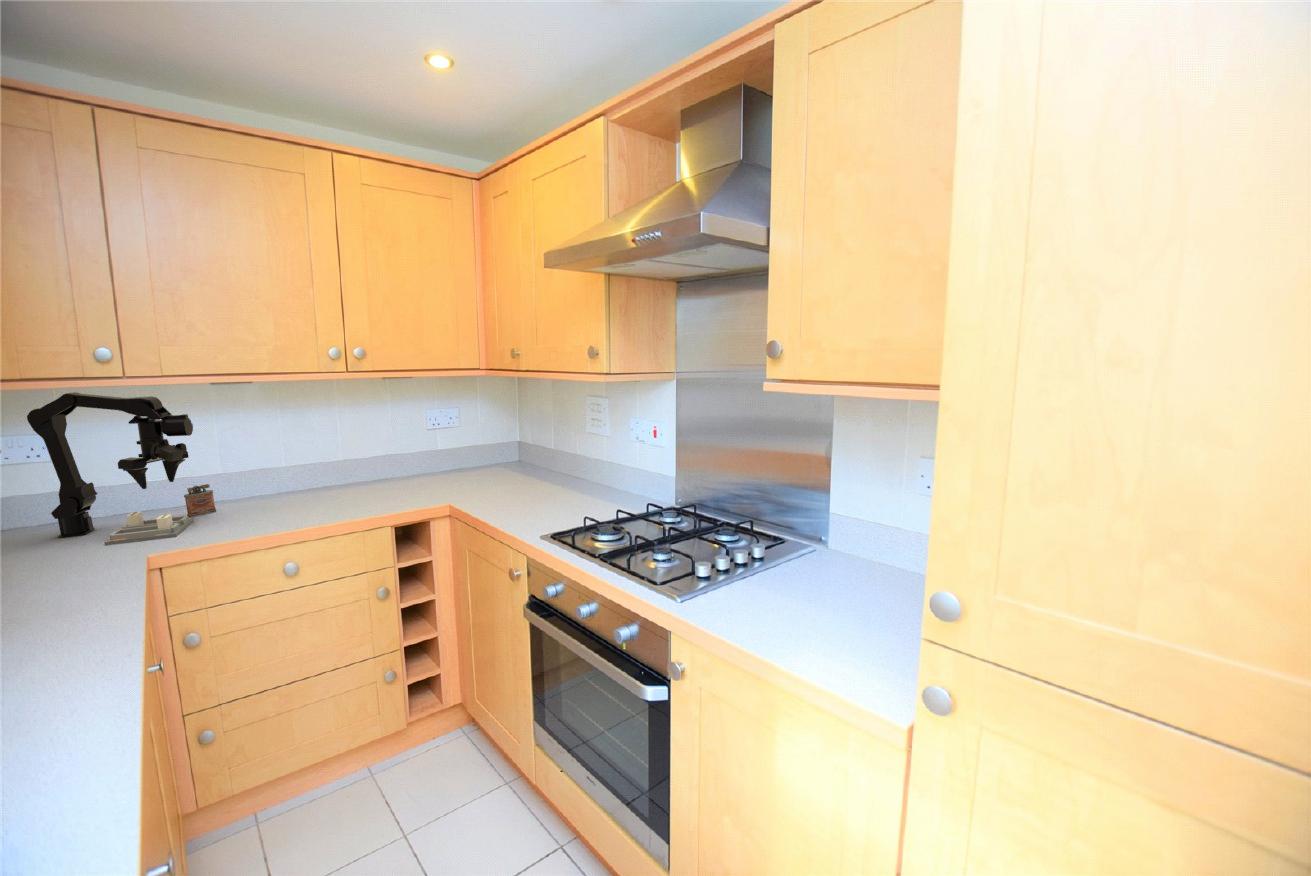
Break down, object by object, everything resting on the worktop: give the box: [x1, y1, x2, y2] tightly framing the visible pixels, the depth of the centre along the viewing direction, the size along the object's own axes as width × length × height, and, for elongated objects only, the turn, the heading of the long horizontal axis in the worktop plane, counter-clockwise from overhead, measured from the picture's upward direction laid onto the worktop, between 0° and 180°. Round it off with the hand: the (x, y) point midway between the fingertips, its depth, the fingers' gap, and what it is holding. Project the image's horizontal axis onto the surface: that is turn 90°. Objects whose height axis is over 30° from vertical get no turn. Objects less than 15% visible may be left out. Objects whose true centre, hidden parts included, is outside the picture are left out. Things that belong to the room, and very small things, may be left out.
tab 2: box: [155, 513, 173, 529], centre depth 179 cm, size 2×4×5 cm, turn 22°
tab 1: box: [125, 511, 144, 526], centre depth 183 cm, size 2×4×5 cm, turn 22°
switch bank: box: [103, 515, 195, 546], centre depth 182 cm, size 17×16×2 cm
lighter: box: [183, 483, 217, 518], centre depth 200 cm, size 8×3×10 cm, turn 143°
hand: (158, 485), depth 187 cm, fingers open, 9 cm apart
